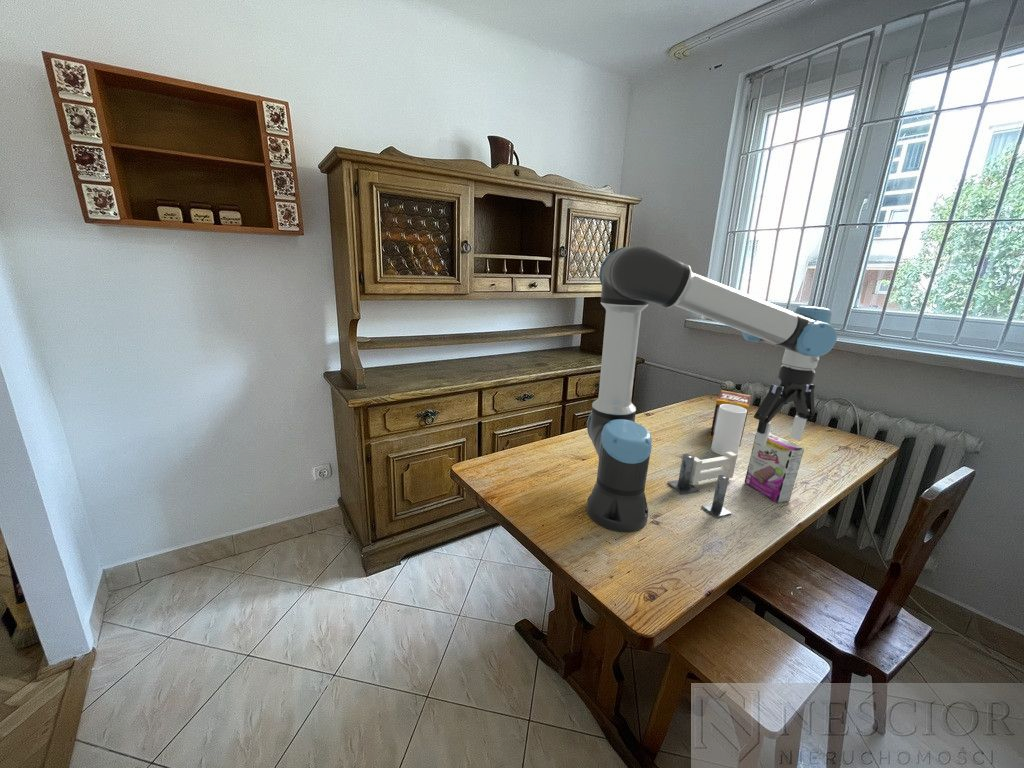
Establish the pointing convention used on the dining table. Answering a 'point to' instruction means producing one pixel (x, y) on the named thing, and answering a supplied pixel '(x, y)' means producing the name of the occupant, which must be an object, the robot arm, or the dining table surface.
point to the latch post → (718, 499)
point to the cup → (728, 429)
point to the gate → (698, 465)
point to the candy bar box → (774, 468)
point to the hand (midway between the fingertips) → (777, 441)
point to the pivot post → (684, 476)
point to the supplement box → (731, 399)
